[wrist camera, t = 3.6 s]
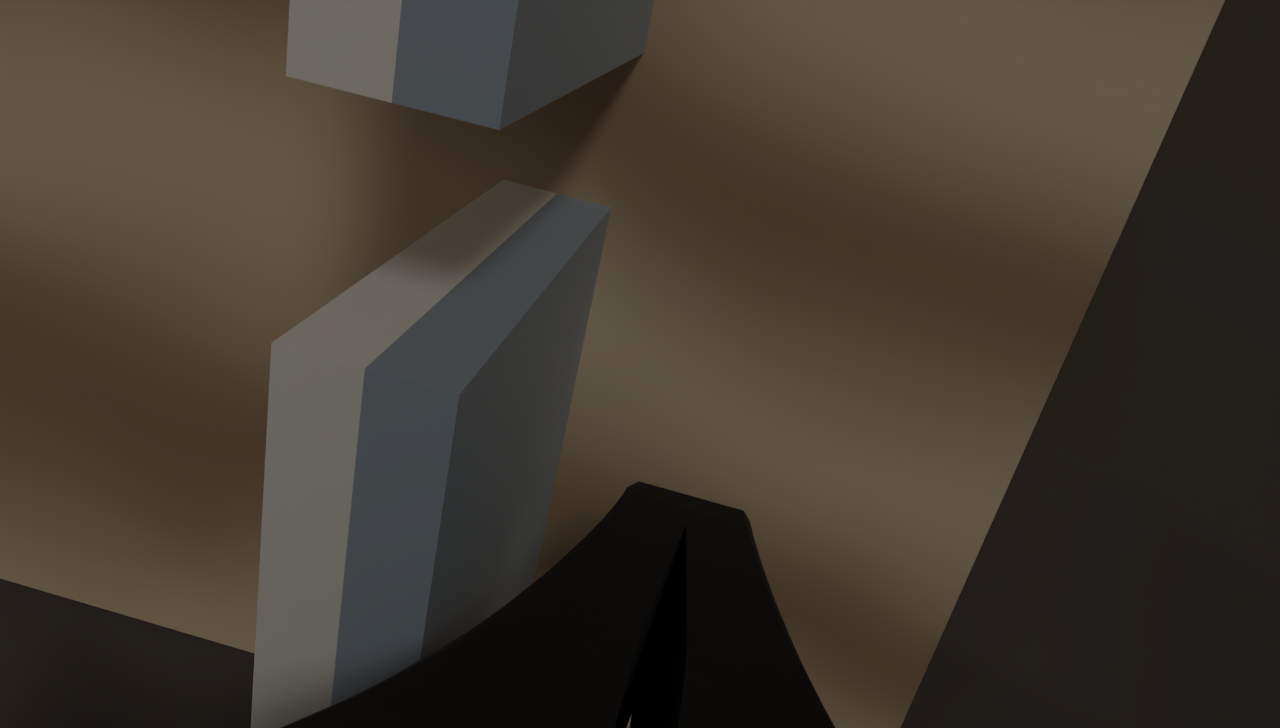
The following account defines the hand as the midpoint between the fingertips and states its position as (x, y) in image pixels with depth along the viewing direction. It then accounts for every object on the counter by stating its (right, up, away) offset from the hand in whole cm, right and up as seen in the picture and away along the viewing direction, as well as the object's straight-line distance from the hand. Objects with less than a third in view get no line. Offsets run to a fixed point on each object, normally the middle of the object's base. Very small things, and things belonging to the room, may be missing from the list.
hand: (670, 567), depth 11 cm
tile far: (-2, +2, +3) cm, 4 cm away
